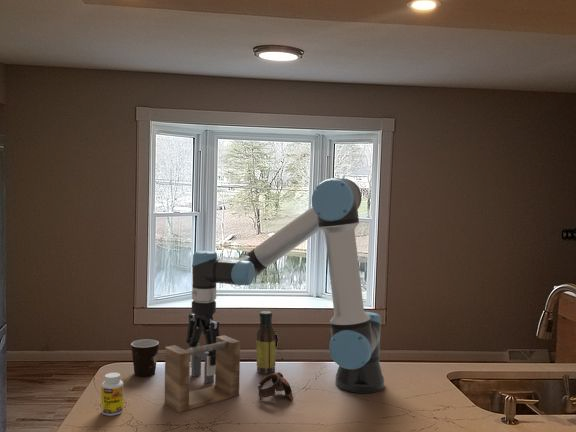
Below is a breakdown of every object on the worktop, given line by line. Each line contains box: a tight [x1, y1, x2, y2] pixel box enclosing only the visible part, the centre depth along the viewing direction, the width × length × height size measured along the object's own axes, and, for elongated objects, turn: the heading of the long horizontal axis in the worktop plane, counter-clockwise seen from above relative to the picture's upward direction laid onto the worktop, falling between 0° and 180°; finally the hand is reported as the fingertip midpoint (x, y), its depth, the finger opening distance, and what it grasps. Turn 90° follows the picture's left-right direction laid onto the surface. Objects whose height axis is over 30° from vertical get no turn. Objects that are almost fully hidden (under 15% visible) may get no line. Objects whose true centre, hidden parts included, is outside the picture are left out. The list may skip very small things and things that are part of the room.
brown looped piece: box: [257, 371, 294, 402], centre depth 164 cm, size 12×10×8 cm
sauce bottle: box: [256, 310, 276, 375], centre depth 185 cm, size 6×6×20 cm
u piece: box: [191, 345, 215, 384], centre depth 178 cm, size 9×3×9 cm, turn 42°
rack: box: [164, 334, 241, 413], centre depth 161 cm, size 20×8×16 cm, turn 131°
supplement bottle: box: [100, 372, 124, 416], centre depth 151 cm, size 6×6×10 cm
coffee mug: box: [130, 338, 160, 378], centre depth 179 cm, size 12×9×10 cm
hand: (202, 370), depth 178 cm, fingers closed on u piece, 9 cm apart
